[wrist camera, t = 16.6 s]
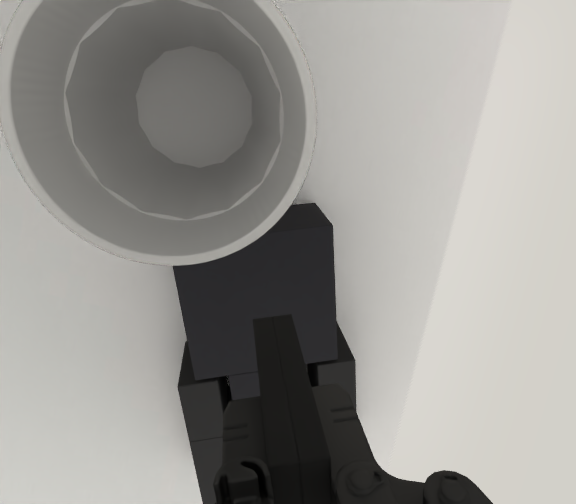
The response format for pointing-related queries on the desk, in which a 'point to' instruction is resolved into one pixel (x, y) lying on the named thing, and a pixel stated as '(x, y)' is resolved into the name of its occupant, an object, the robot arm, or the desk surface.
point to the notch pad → (216, 395)
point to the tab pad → (261, 298)
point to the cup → (158, 121)
